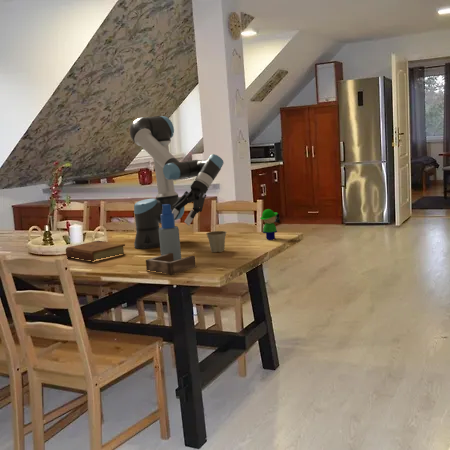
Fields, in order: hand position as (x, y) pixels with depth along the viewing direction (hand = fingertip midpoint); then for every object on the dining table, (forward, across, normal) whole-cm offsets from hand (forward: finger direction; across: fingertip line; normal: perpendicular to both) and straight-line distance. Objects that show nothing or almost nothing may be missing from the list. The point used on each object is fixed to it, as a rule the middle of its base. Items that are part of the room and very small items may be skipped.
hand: (177, 222), depth 268 cm
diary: (+26, +43, +3) cm, 50 cm away
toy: (-24, -3, -48) cm, 54 cm away
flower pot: (-1, -2, -25) cm, 25 cm away
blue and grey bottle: (+15, +2, -9) cm, 17 cm away
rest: (+22, -14, -1) cm, 26 cm away
